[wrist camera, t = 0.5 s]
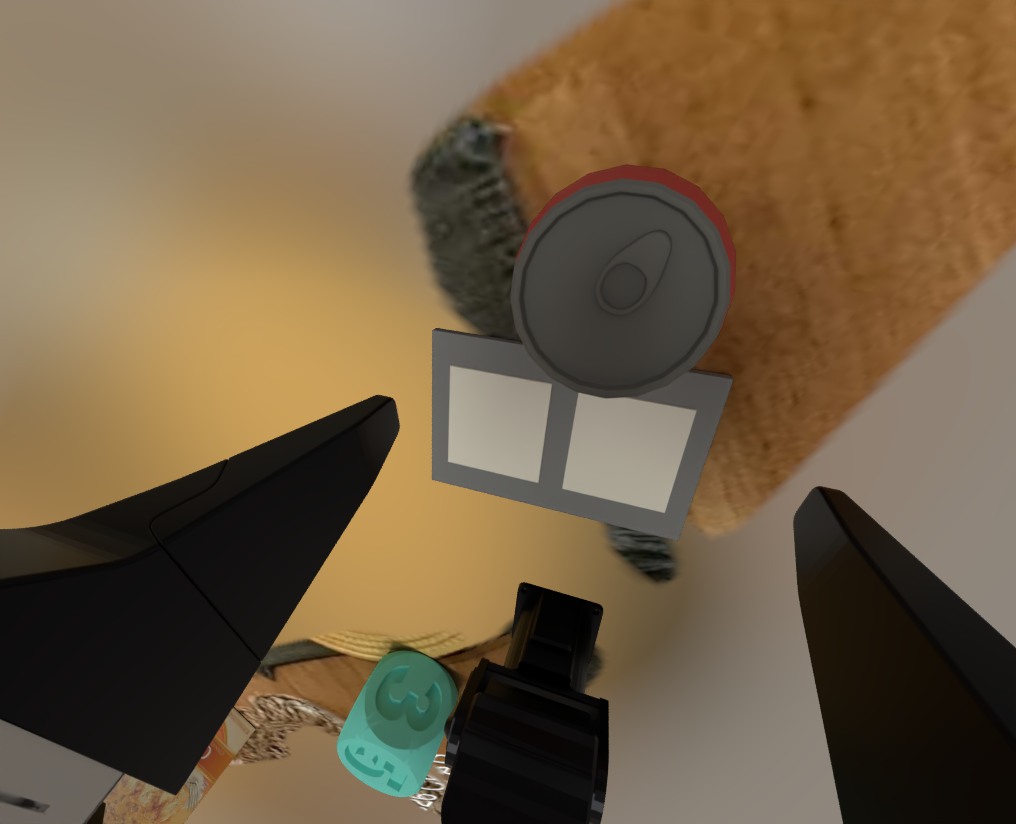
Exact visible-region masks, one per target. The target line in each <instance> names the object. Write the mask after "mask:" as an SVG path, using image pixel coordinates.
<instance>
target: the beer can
mask: <svg viewBox="0 0 1016 824" xmlns="http://www.w3.org/2000/svg"><path fill="white" fill-rule="evenodd" d="M735 271H736V251H735V248H734V245H733V242H732V239H731V236H730V233H729V230H728V227H727V225H726V222H725V219H724V216H723V215H722V213H721V212H720V211H719V210H718V209H717V208H716V206H715V205H714V204H713V203H712V202H711V201H710V199H709V198H708V197H707V196H706V195H705V194H704V192H703V191H702V190H701V189H700V188H699V187H698V186H696V185H694V184H693V183H691V182H689V181H687V180H685V179H683V178H681V177H679V176H677V175H675V174H673V173H671V172H670V171H668V170H666V169H661V168H652V167H643V166H634V165H622V166H618V167H614V168H610V169H606V170H602V171H597V172H593V173H589V174H587V175H585V176H584V177H582V178H581V179H579V180H577V181H576V182H574V183H573V184H571V185H569V186H568V187H566V188H565V189H563V190H561V191H560V192H558V193H557V194H555V196H554V197H553V198H552V199H551V200H550V201H549V203H548V204H547V205H546V206H545V207H544V208H543V210H542V211H541V212H540V213H539V214H538V215H537V217H536V218H535V219H534V220H533V221H532V223H531V225H530V227H529V229H528V232H527V234H526V236H525V239H524V241H523V243H522V245H521V248H520V250H519V252H518V254H517V257H516V262H515V265H514V271H513V279H512V287H511V296H510V300H511V306H512V312H513V318H514V323H515V329H516V331H517V333H518V335H519V337H520V339H521V341H522V343H523V345H524V347H525V349H526V351H527V353H528V355H529V356H530V357H531V359H532V360H533V361H534V362H535V363H536V364H537V365H538V366H539V367H540V368H541V369H542V370H543V371H544V372H545V373H546V374H547V375H548V376H549V377H550V378H552V379H553V380H555V381H557V382H559V383H561V384H562V385H564V386H566V387H568V388H569V389H571V390H573V391H575V392H578V393H582V394H587V395H591V396H596V397H600V398H605V399H607V398H623V397H637V396H640V395H643V394H646V393H648V392H651V391H654V390H657V389H659V388H662V387H665V386H668V385H669V384H671V383H672V382H673V381H675V380H676V379H677V378H679V377H680V376H682V375H683V374H684V373H686V372H687V371H688V370H690V369H691V368H693V367H694V366H695V365H696V364H697V363H698V362H699V360H700V359H701V358H702V356H703V355H704V354H705V352H706V351H707V350H708V349H709V347H710V346H711V345H712V343H713V342H714V341H715V339H716V338H717V337H718V334H719V331H720V330H721V329H722V326H723V323H724V320H725V317H726V315H727V312H728V309H729V306H730V304H731V301H732V298H733V295H734V292H735Z"/></svg>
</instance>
